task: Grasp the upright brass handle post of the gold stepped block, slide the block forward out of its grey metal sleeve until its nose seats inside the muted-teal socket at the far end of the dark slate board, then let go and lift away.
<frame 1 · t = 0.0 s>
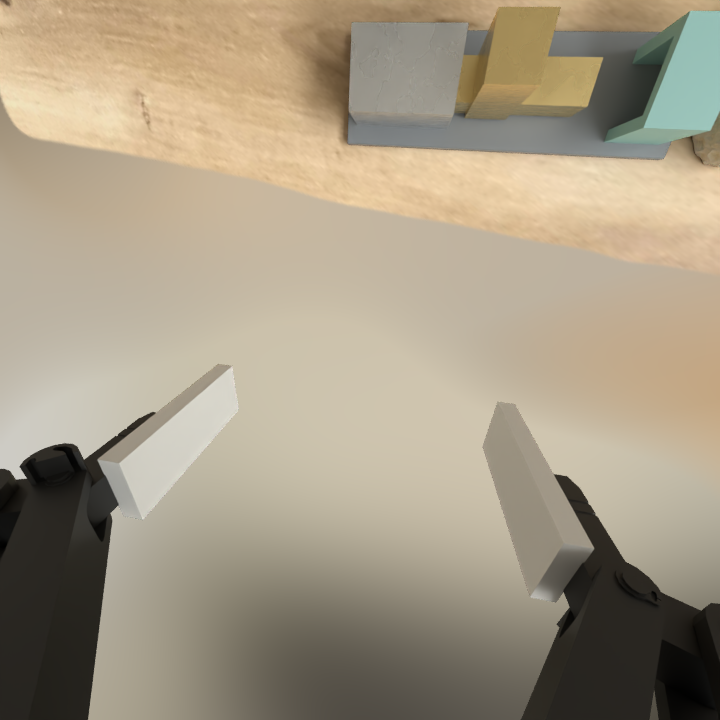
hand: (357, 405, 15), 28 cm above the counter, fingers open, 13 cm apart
socket: (642, 102, 28), resting on slate board
outer sleeve: (405, 94, 31), resting on slate board
gold stepped block: (478, 73, 25), point 6 cm above the counter, slide at 0.0 cm
slate board: (507, 97, 30), on the counter
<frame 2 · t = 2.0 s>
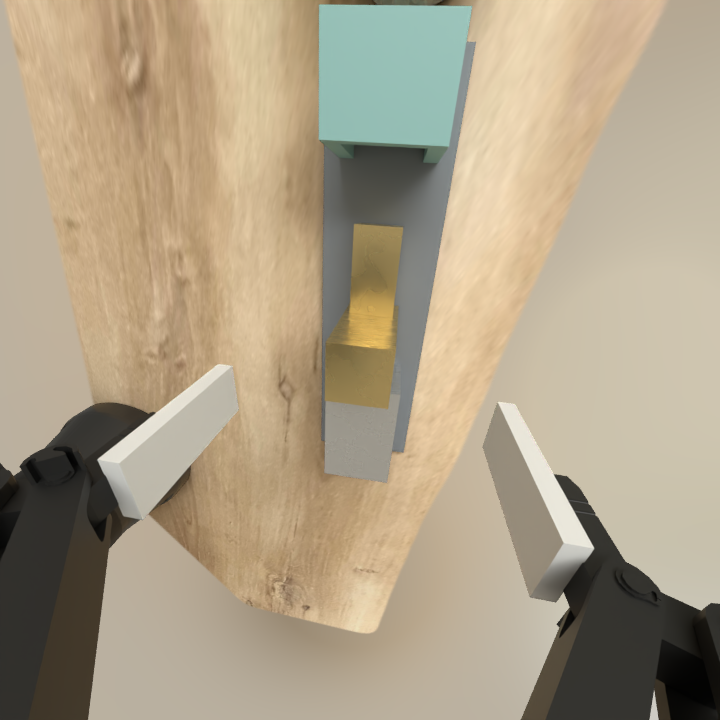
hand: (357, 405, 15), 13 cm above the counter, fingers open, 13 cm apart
socket: (392, 118, 20), resting on slate board
outer sleeve: (366, 398, 30), resting on slate board
gold stepped block: (364, 370, 22), point 6 cm above the counter, slide at 0.0 cm
slate board: (375, 300, 26), on the counter
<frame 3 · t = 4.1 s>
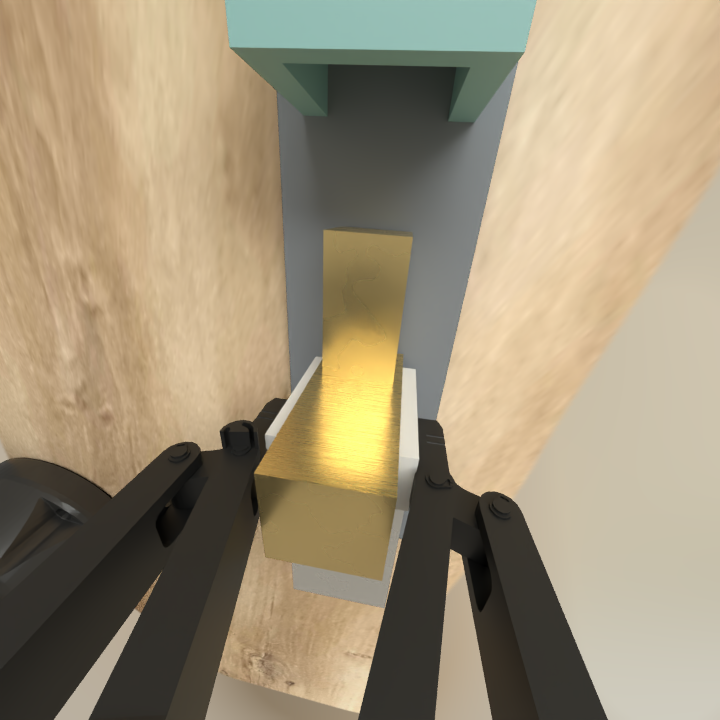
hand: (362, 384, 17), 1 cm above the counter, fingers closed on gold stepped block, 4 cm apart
socket: (394, 42, 11), resting on slate board
outer sleeve: (357, 469, 22), resting on slate board
gold stepped block: (347, 466, 14), point 6 cm above the counter, slide at 0.0 cm, touching gripper
slate board: (368, 341, 17), on the counter
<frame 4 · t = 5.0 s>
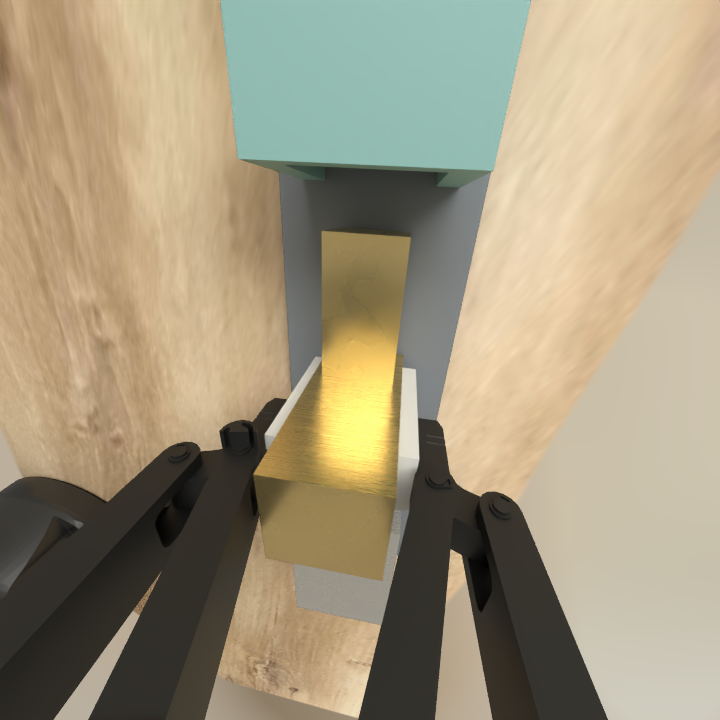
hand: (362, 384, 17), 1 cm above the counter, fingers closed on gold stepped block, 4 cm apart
socket: (386, 115, 12), resting on slate board
outer sleeve: (357, 490, 23), resting on slate board
gold stepped block: (347, 466, 14), point 6 cm above the counter, slide at 2.2 cm, touching gripper
slate board: (366, 375, 18), on the counter
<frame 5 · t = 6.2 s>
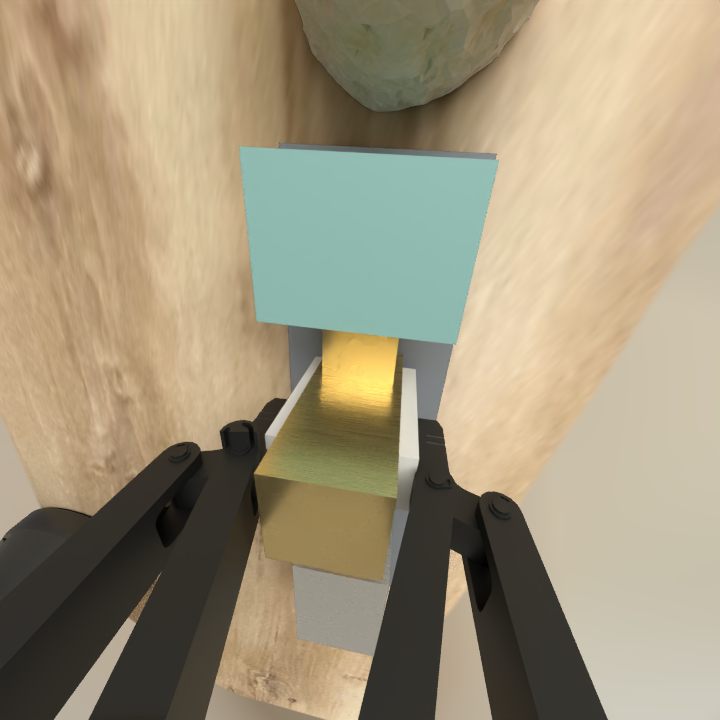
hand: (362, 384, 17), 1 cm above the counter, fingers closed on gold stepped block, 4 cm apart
socket: (377, 238, 14), resting on slate board
outer sleeve: (352, 529, 25), resting on slate board
gold stepped block: (347, 466, 14), point 6 cm above the counter, slide at 7.0 cm, touching gripper
slate board: (360, 435, 20), on the counter
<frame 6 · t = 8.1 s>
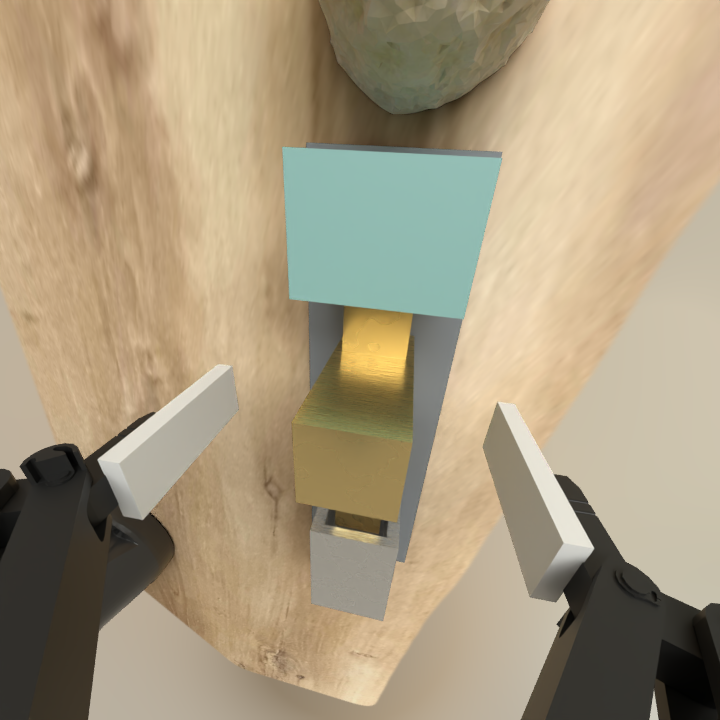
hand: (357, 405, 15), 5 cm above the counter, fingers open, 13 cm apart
socket: (392, 229, 16), resting on slate board
outer sleeve: (363, 505, 26), resting on slate board
gold stepped block: (363, 434, 15), point 6 cm above the counter, slide at 7.0 cm
slate board: (372, 414, 22), on the counter
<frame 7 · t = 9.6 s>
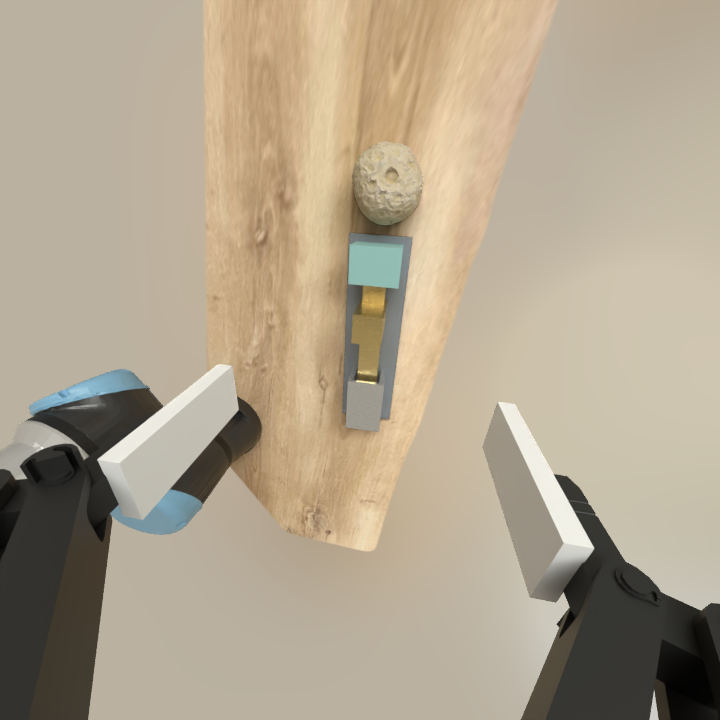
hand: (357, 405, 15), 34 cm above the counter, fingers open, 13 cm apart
socket: (378, 260, 44), resting on slate board
sponge: (388, 187, 40), on the counter
outer sleeve: (368, 388, 54), resting on slate board
gold stepped block: (369, 332, 44), point 6 cm above the counter, slide at 7.0 cm
slate board: (372, 337, 50), on the counter
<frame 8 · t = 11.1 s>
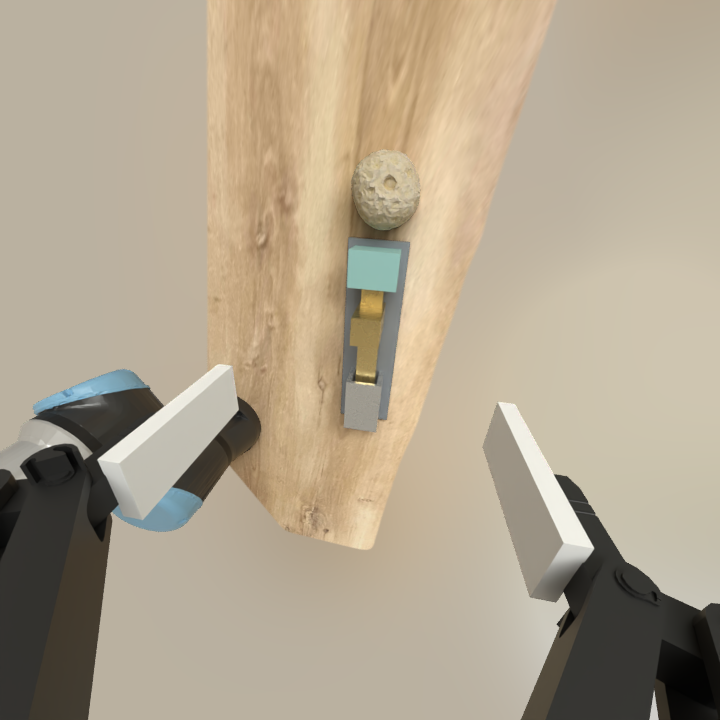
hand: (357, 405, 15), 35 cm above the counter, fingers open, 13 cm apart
socket: (377, 264, 45), resting on slate board
sponge: (387, 193, 41), on the counter
outer sleeve: (366, 389, 55), resting on slate board
gold stepped block: (367, 335, 44), point 6 cm above the counter, slide at 7.0 cm
slate board: (370, 339, 51), on the counter
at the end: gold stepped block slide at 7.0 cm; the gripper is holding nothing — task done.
